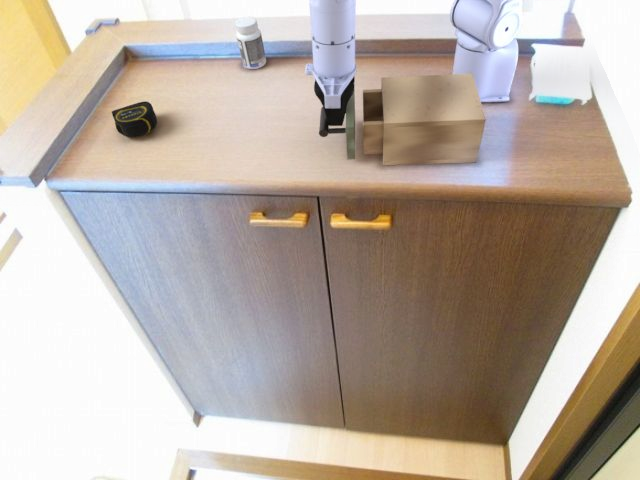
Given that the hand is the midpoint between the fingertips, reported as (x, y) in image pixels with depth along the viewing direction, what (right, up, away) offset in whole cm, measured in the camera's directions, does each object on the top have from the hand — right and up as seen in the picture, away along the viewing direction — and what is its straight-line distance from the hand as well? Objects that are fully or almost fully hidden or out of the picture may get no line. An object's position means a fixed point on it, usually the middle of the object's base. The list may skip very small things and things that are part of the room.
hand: (335, 123), depth 70 cm
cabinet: (+14, -2, +2) cm, 14 cm away
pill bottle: (-15, +17, +22) cm, 32 cm away
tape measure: (-34, +2, +11) cm, 36 cm away
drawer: (+6, -2, +2) cm, 7 cm away
